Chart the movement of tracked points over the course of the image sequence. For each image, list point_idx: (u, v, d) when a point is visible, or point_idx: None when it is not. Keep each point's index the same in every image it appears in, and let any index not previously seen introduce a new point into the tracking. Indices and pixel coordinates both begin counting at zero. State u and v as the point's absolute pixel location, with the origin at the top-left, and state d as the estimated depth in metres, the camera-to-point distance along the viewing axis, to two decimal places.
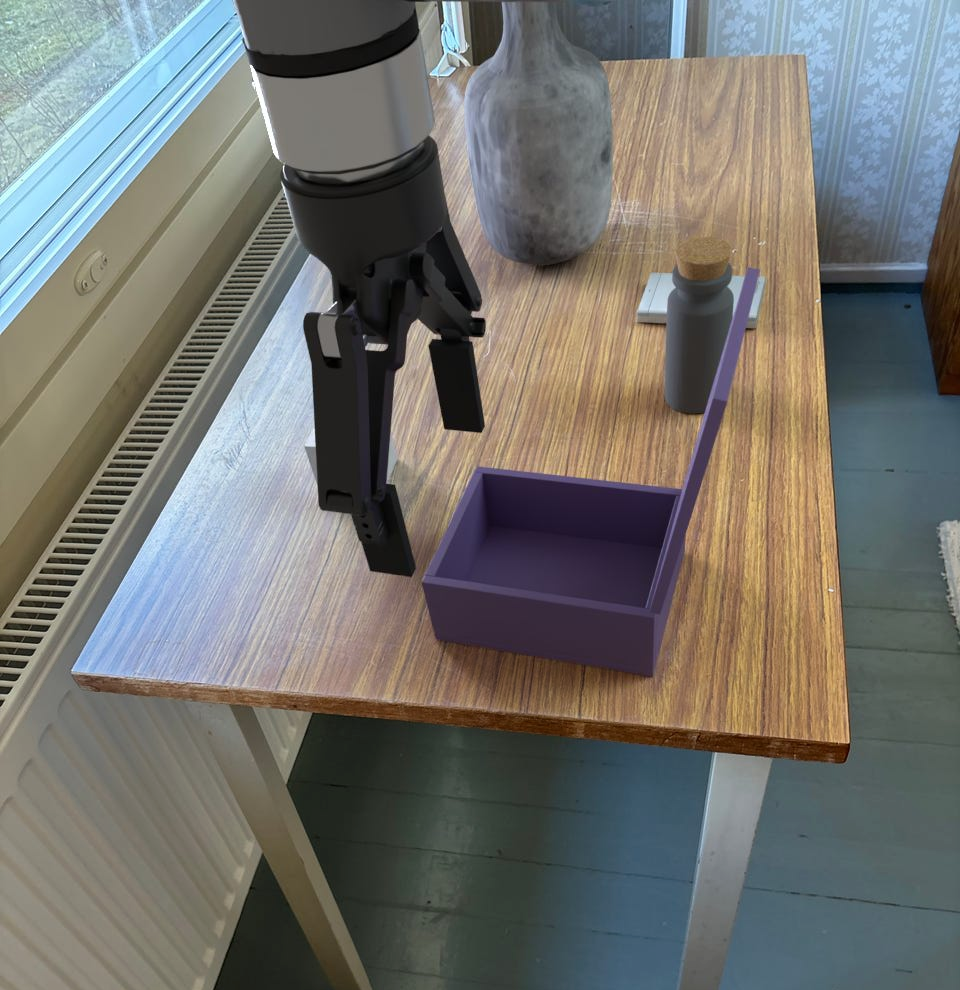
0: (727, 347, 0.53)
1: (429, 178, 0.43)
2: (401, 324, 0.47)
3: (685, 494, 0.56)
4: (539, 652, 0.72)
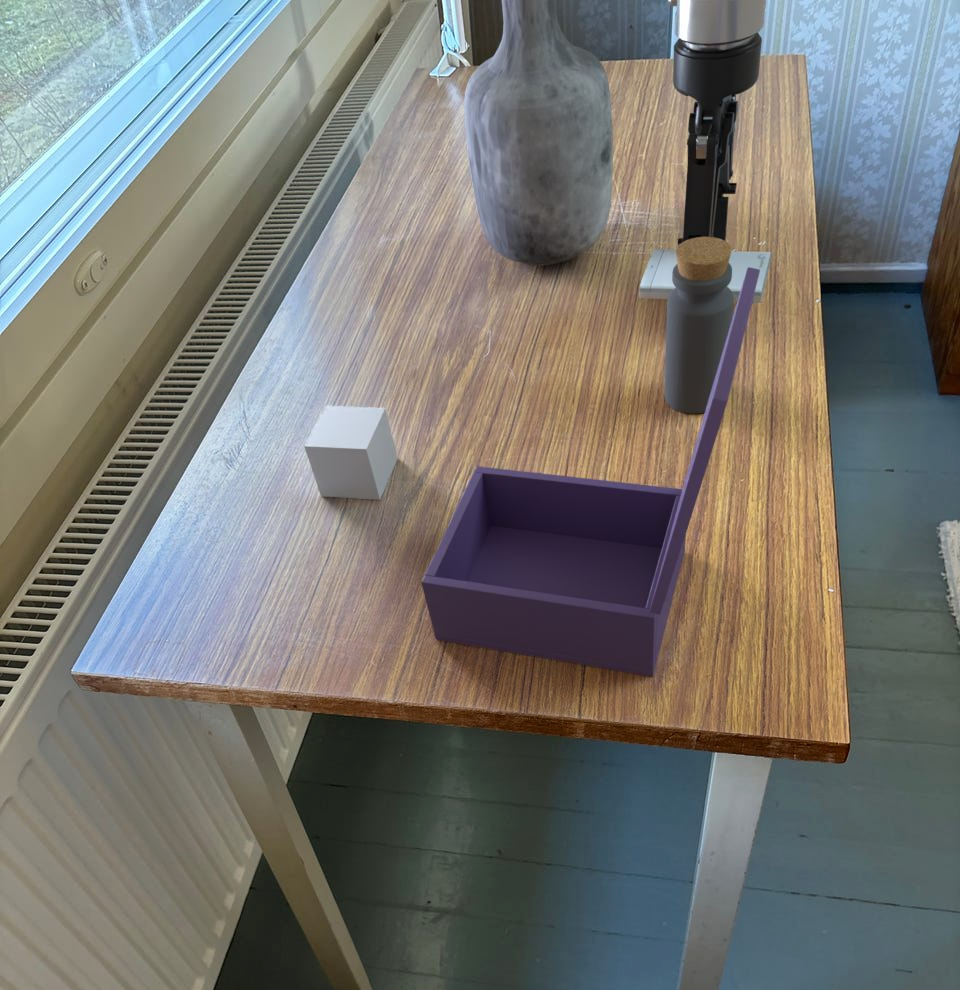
0: (727, 347, 0.53)
1: (759, 51, 0.81)
2: (727, 139, 0.85)
3: (685, 494, 0.56)
4: (539, 652, 0.72)
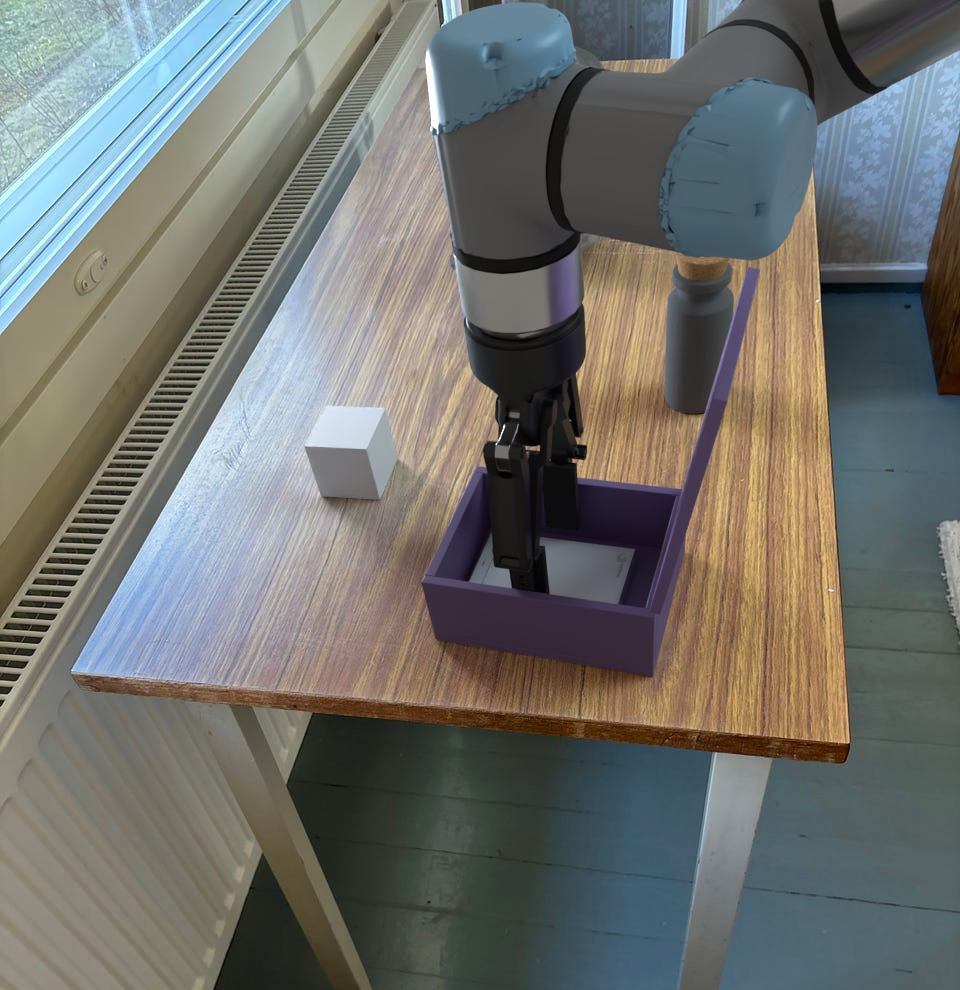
0: (727, 347, 0.53)
1: (579, 332, 0.57)
2: (549, 434, 0.61)
3: (685, 494, 0.56)
4: (539, 652, 0.72)
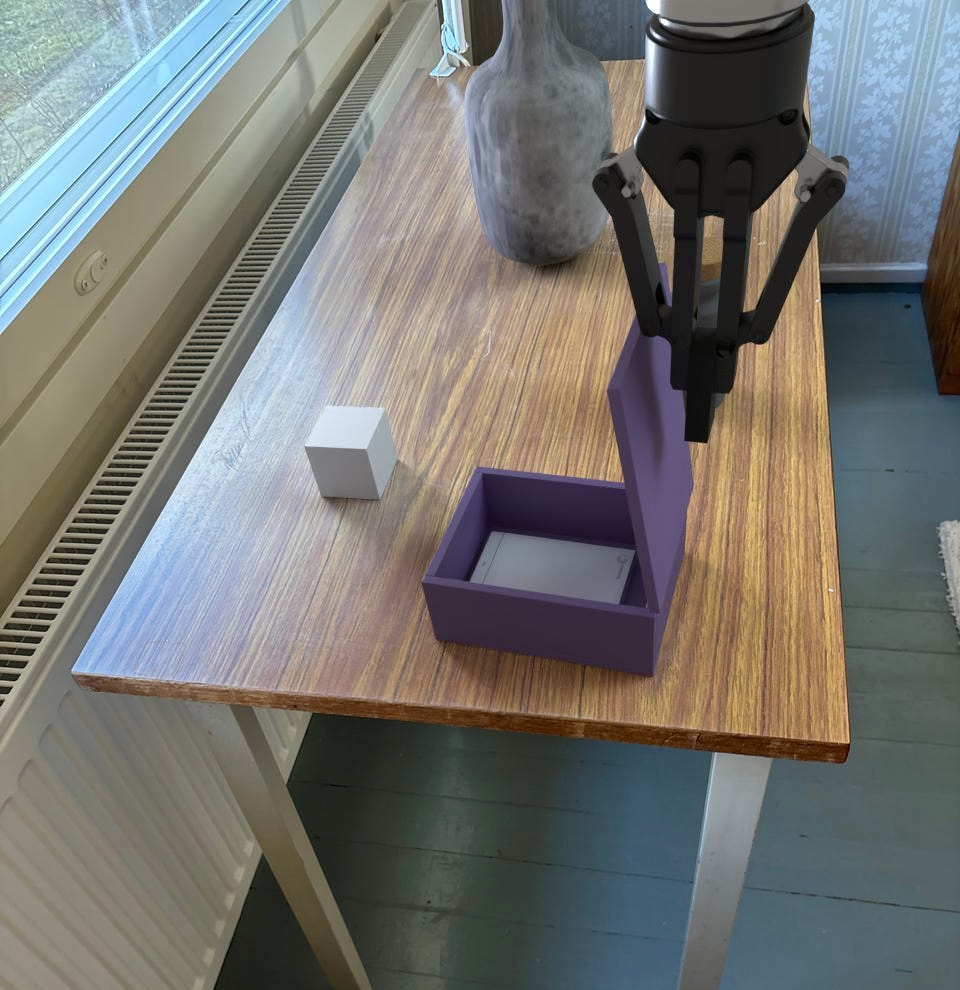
0: (626, 340, 0.55)
1: (701, 66, 0.41)
2: (681, 201, 0.48)
3: (626, 488, 0.57)
4: (539, 652, 0.72)
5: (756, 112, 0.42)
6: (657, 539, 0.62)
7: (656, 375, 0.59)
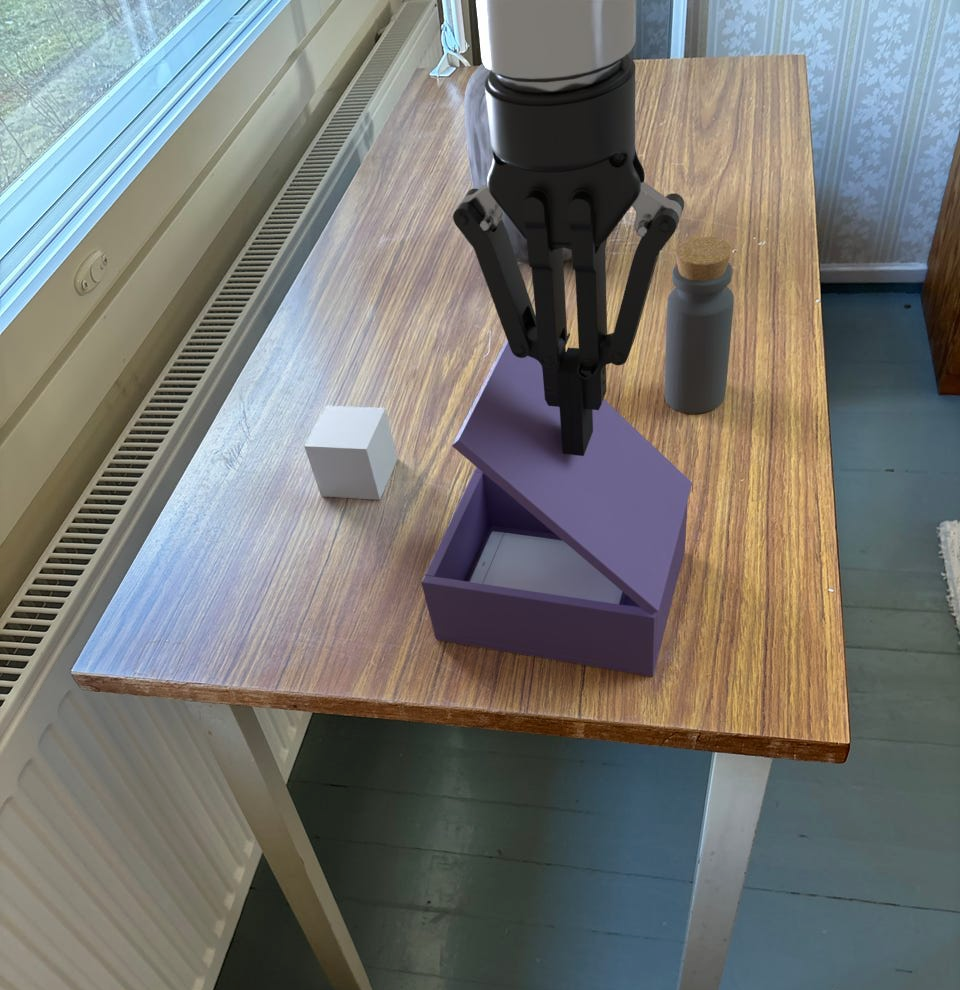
0: (475, 399, 0.61)
1: (528, 117, 0.45)
2: (532, 234, 0.52)
3: None
4: (539, 652, 0.72)
5: (583, 157, 0.46)
6: (615, 546, 0.64)
7: (541, 411, 0.64)
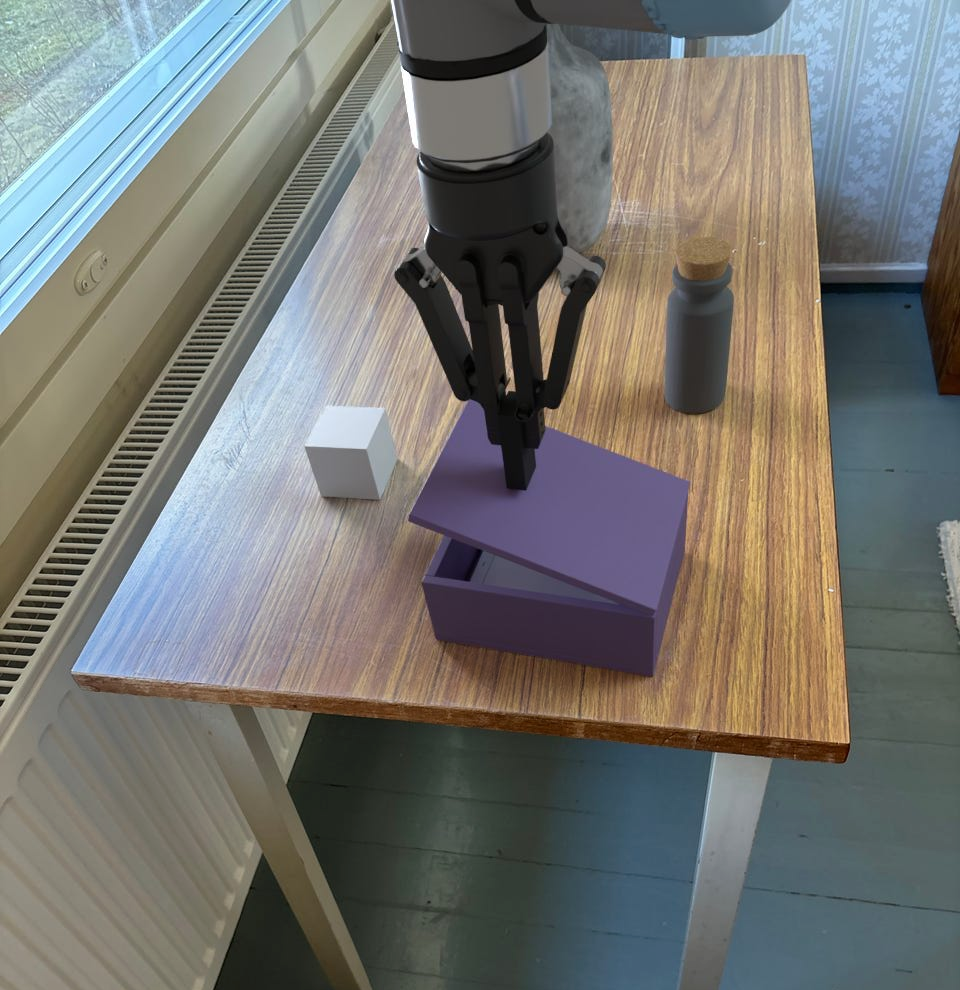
0: None
1: (453, 192, 0.49)
2: (467, 292, 0.56)
3: (501, 557, 0.65)
4: (539, 652, 0.72)
5: (505, 228, 0.50)
6: (596, 562, 0.66)
7: (498, 466, 0.69)
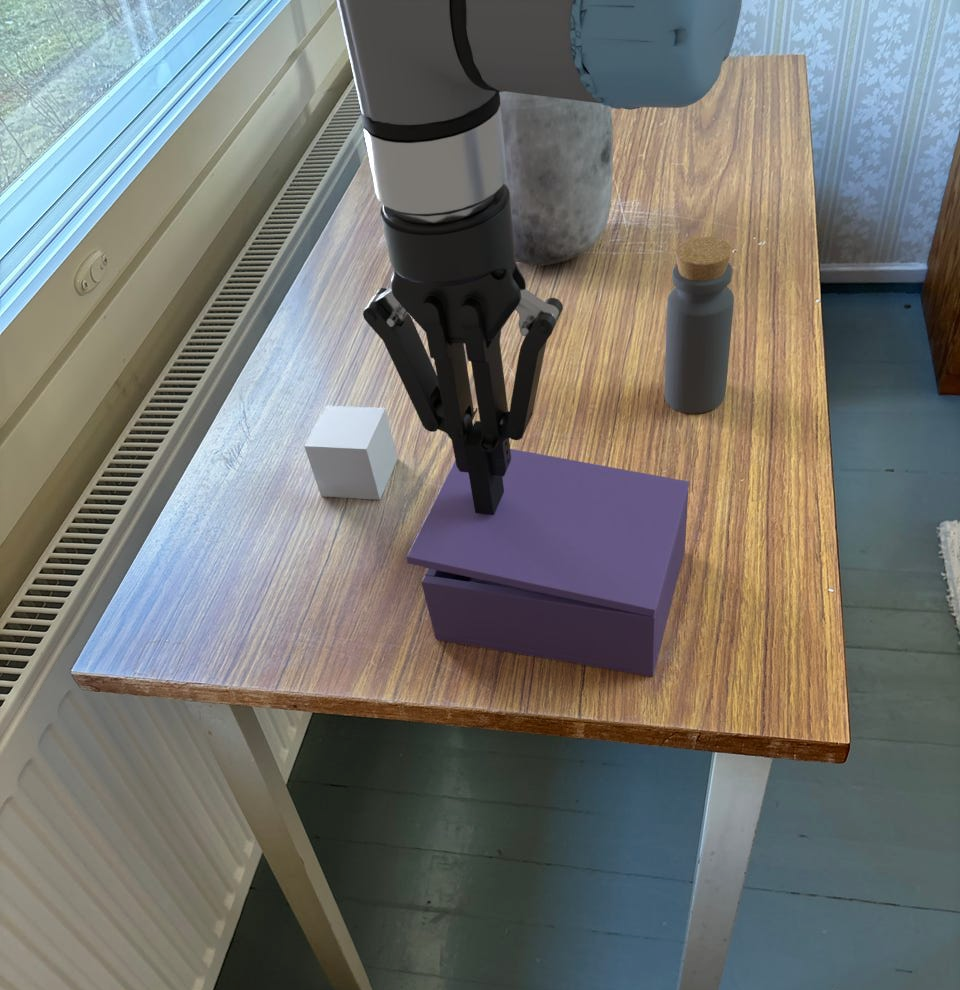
0: None
1: (414, 243, 0.52)
2: (431, 332, 0.59)
3: (499, 583, 0.67)
4: (539, 652, 0.72)
5: (464, 275, 0.53)
6: (591, 572, 0.67)
7: None
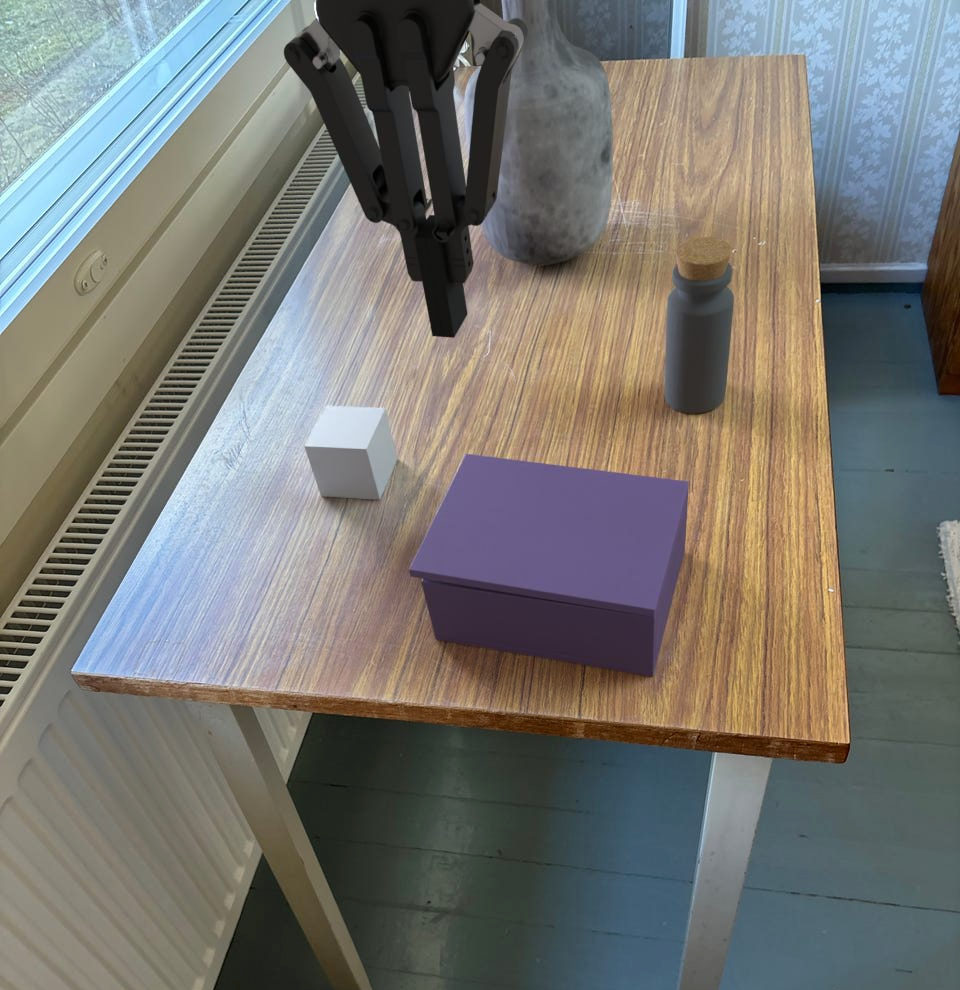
0: None
1: None
2: (366, 68, 0.47)
3: (500, 591, 0.68)
4: (539, 652, 0.72)
5: None
6: (591, 576, 0.67)
7: (493, 509, 0.73)
